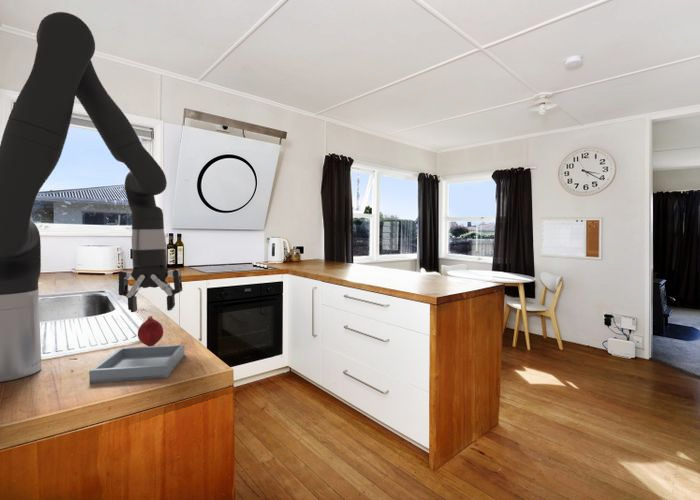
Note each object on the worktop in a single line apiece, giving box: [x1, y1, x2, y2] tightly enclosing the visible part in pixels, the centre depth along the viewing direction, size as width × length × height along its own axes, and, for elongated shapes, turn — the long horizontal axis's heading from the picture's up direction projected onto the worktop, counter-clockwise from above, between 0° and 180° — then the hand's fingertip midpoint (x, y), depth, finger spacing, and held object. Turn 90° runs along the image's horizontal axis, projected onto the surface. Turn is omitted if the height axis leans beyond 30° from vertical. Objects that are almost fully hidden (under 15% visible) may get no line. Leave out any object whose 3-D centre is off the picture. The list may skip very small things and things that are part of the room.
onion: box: [137, 315, 164, 347], centre depth 93 cm, size 6×6×8 cm
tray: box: [88, 344, 185, 384], centre depth 79 cm, size 14×14×2 cm
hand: (152, 310), depth 92 cm, fingers open, 8 cm apart
